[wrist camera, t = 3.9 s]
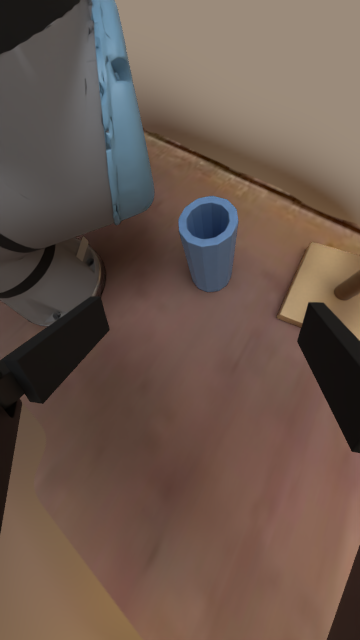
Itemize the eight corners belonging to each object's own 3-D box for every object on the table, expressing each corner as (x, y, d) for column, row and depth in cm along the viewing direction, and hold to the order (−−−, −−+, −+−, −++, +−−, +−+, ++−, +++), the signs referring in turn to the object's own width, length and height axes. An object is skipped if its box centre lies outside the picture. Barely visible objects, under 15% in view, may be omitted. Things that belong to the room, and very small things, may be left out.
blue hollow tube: (186, 283, 30) (168, 235, 20) (202, 252, 31) (194, 190, 20) (220, 297, 28) (222, 253, 18) (237, 264, 29) (247, 204, 19)
